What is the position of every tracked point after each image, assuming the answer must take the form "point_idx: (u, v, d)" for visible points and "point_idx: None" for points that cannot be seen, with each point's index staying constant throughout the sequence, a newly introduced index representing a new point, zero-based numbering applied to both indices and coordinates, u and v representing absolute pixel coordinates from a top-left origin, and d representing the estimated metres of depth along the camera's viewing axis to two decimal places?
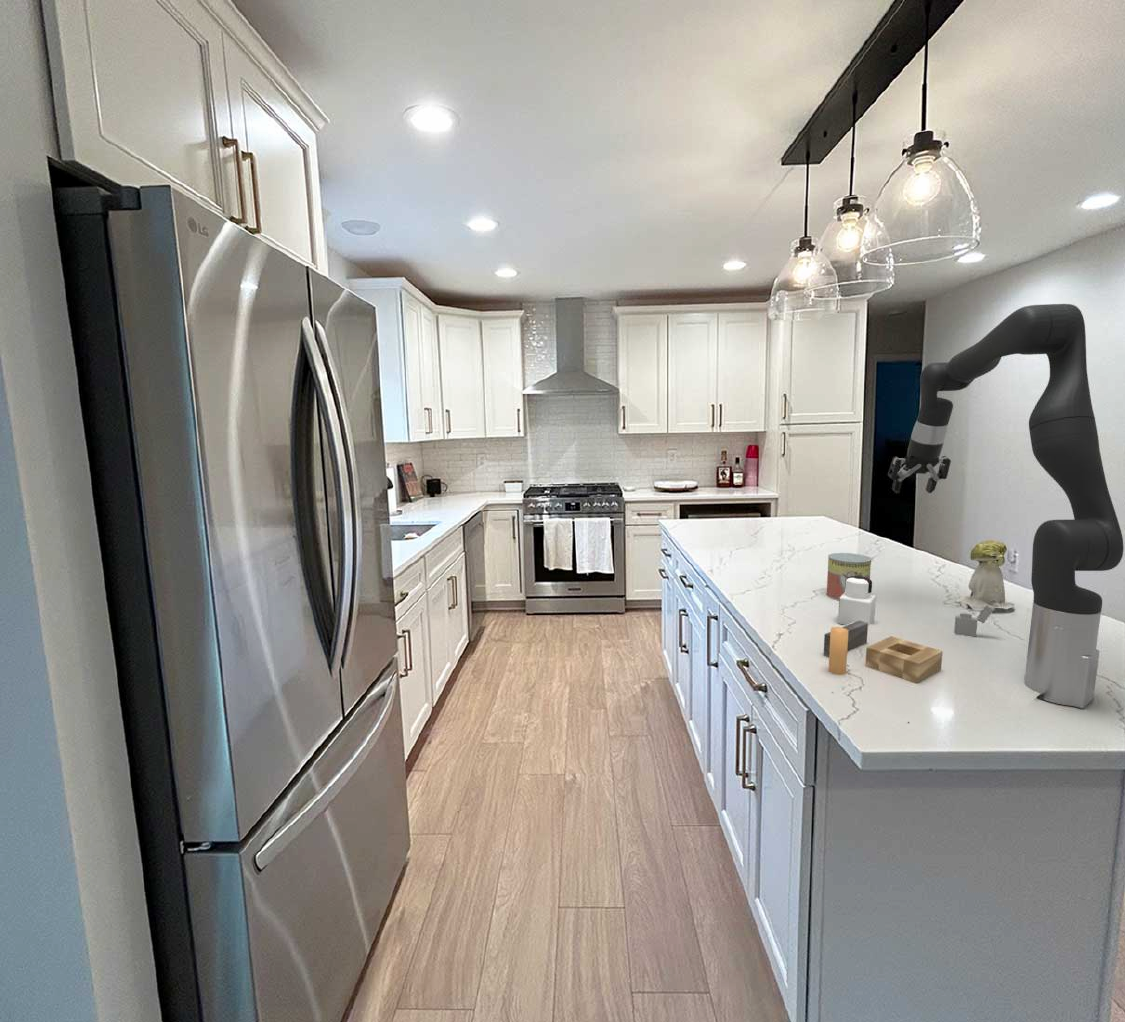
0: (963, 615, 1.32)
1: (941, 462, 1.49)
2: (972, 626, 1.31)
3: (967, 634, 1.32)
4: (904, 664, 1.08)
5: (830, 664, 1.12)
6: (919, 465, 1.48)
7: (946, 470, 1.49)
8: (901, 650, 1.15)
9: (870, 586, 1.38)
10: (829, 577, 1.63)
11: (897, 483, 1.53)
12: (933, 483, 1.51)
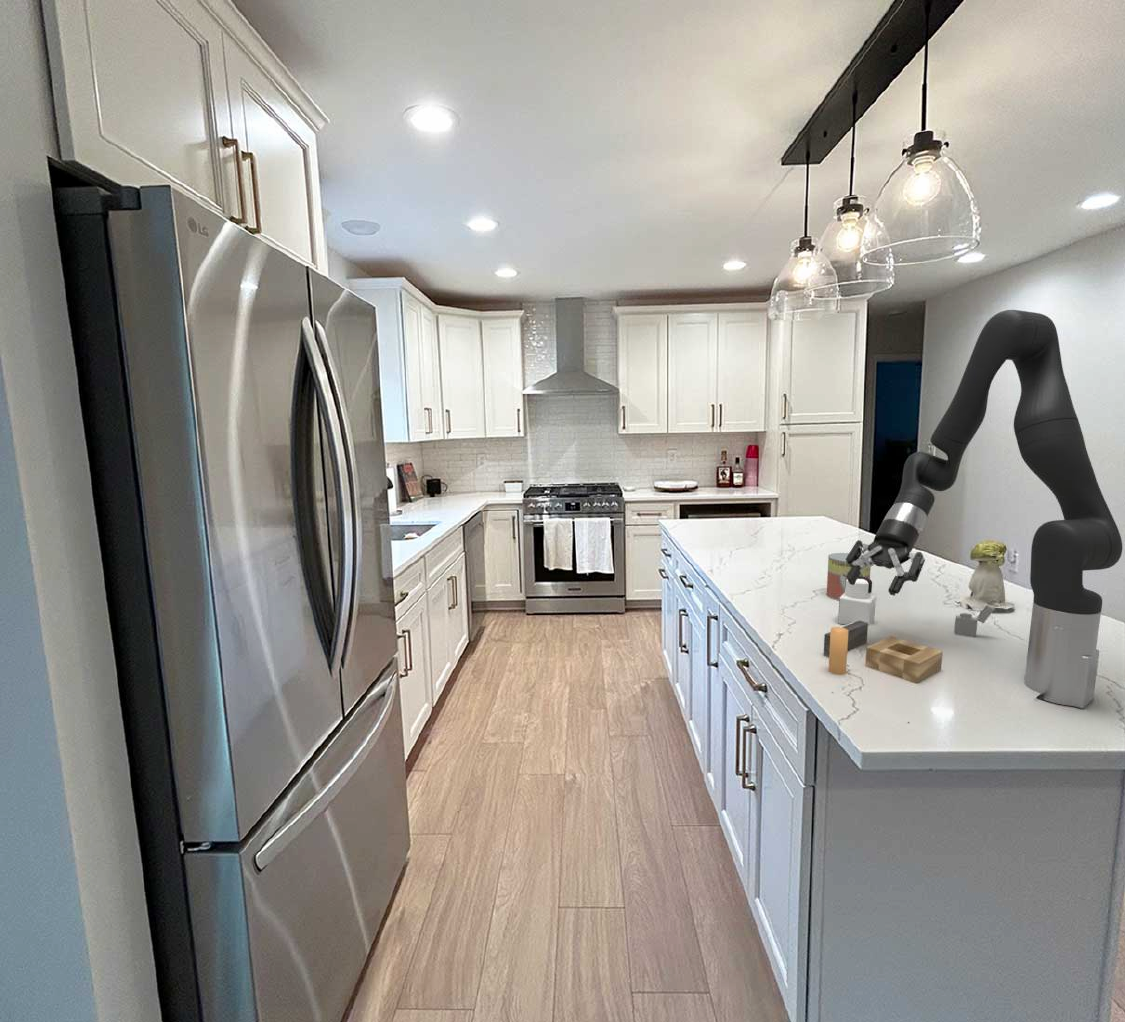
0: (963, 615, 1.32)
1: (912, 557, 1.16)
2: (972, 626, 1.31)
3: (967, 634, 1.32)
4: (904, 664, 1.08)
5: (830, 664, 1.12)
6: (879, 548, 1.20)
7: (915, 564, 1.14)
8: (901, 650, 1.15)
9: (870, 586, 1.38)
10: (829, 577, 1.63)
11: (852, 569, 1.23)
12: (895, 578, 1.15)
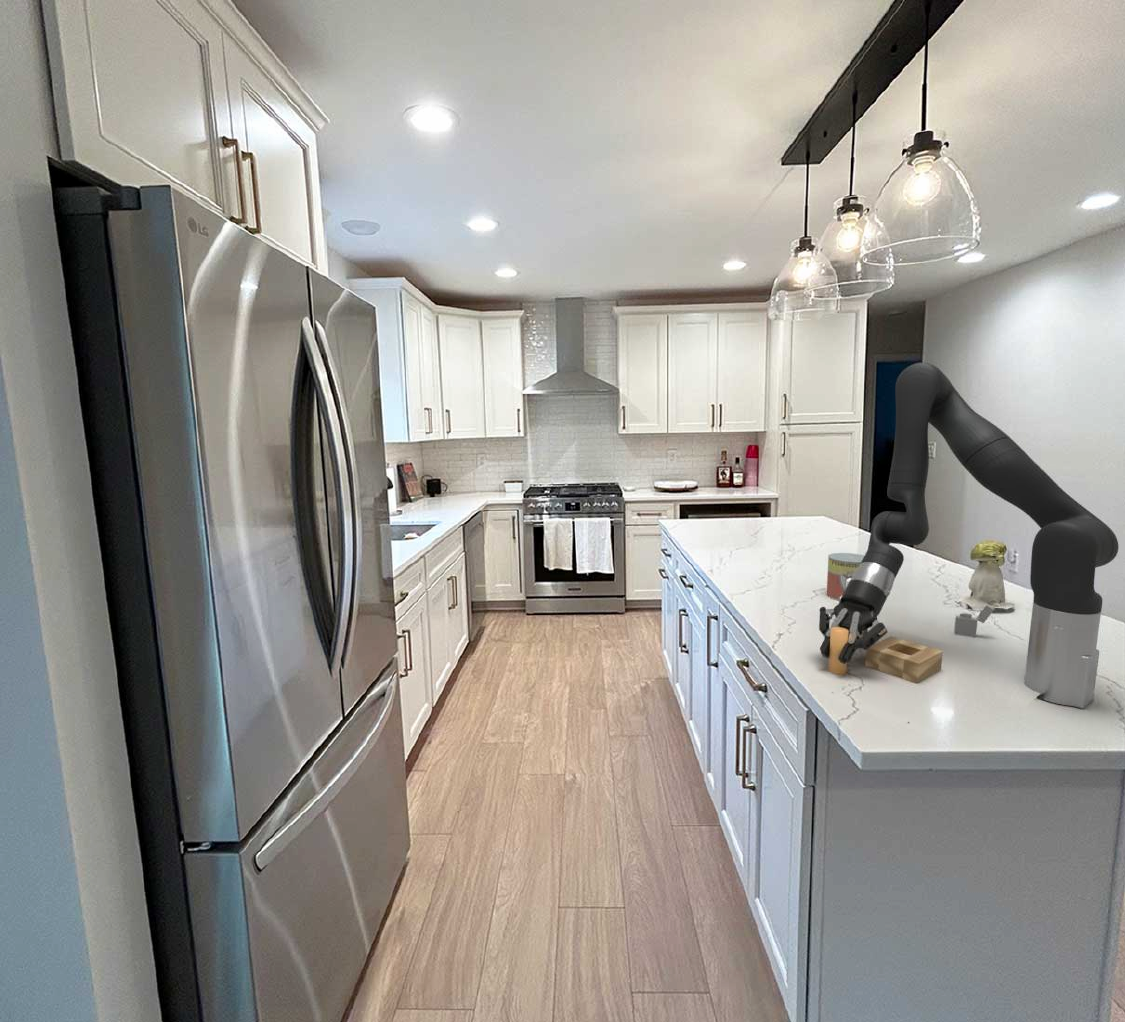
0: (963, 615, 1.32)
1: (874, 625, 1.10)
2: (972, 626, 1.31)
3: (967, 634, 1.32)
4: (904, 664, 1.08)
5: (830, 664, 1.12)
6: (844, 610, 1.14)
7: (870, 634, 1.08)
8: (901, 650, 1.15)
9: None
10: (829, 577, 1.63)
11: (826, 640, 1.14)
12: (846, 645, 1.10)
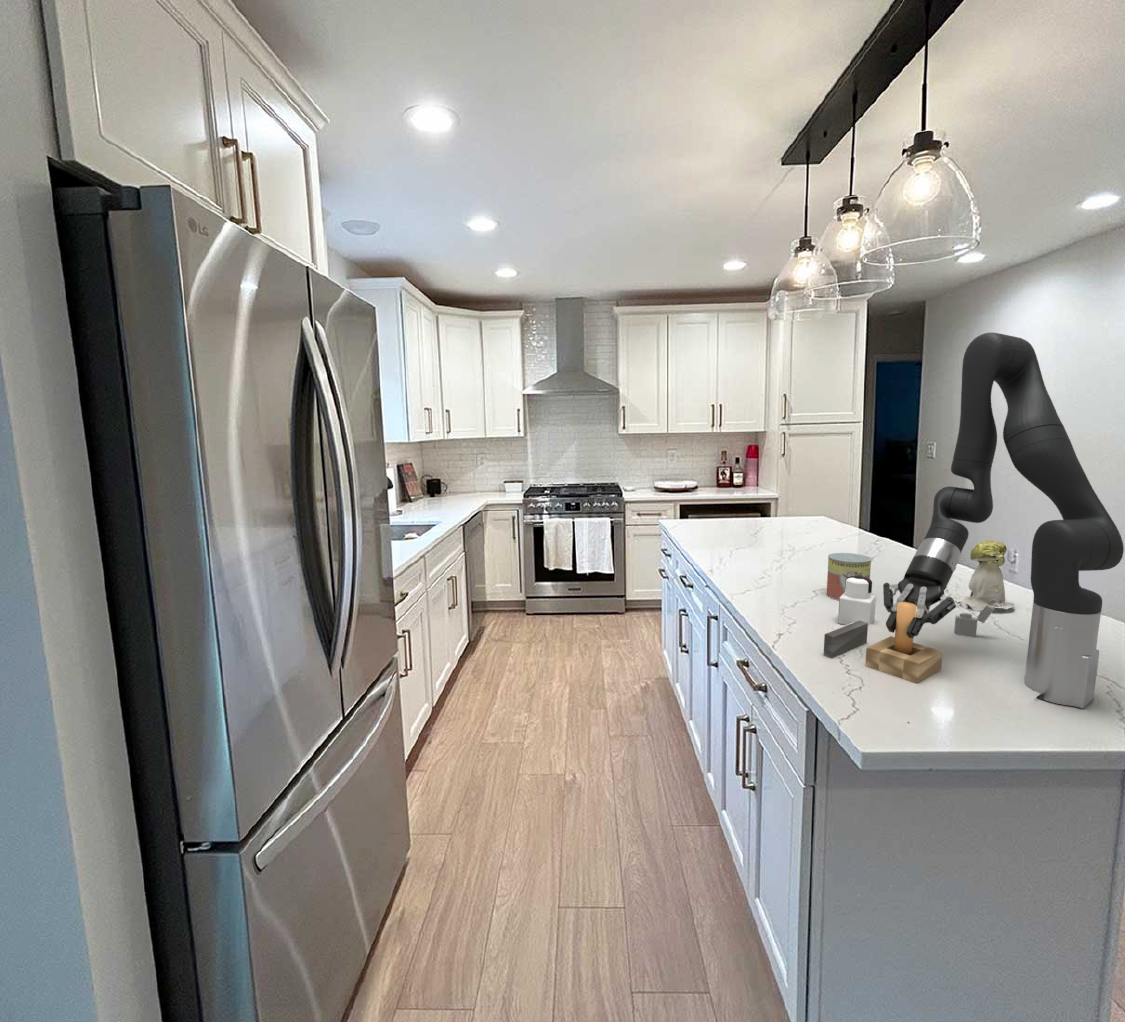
0: (963, 615, 1.32)
1: (942, 599, 1.10)
2: (972, 626, 1.31)
3: (967, 634, 1.32)
4: (904, 664, 1.08)
5: (896, 639, 1.13)
6: (910, 586, 1.14)
7: (939, 608, 1.08)
8: None
9: (870, 586, 1.38)
10: (829, 577, 1.63)
11: (891, 615, 1.14)
12: (914, 620, 1.10)
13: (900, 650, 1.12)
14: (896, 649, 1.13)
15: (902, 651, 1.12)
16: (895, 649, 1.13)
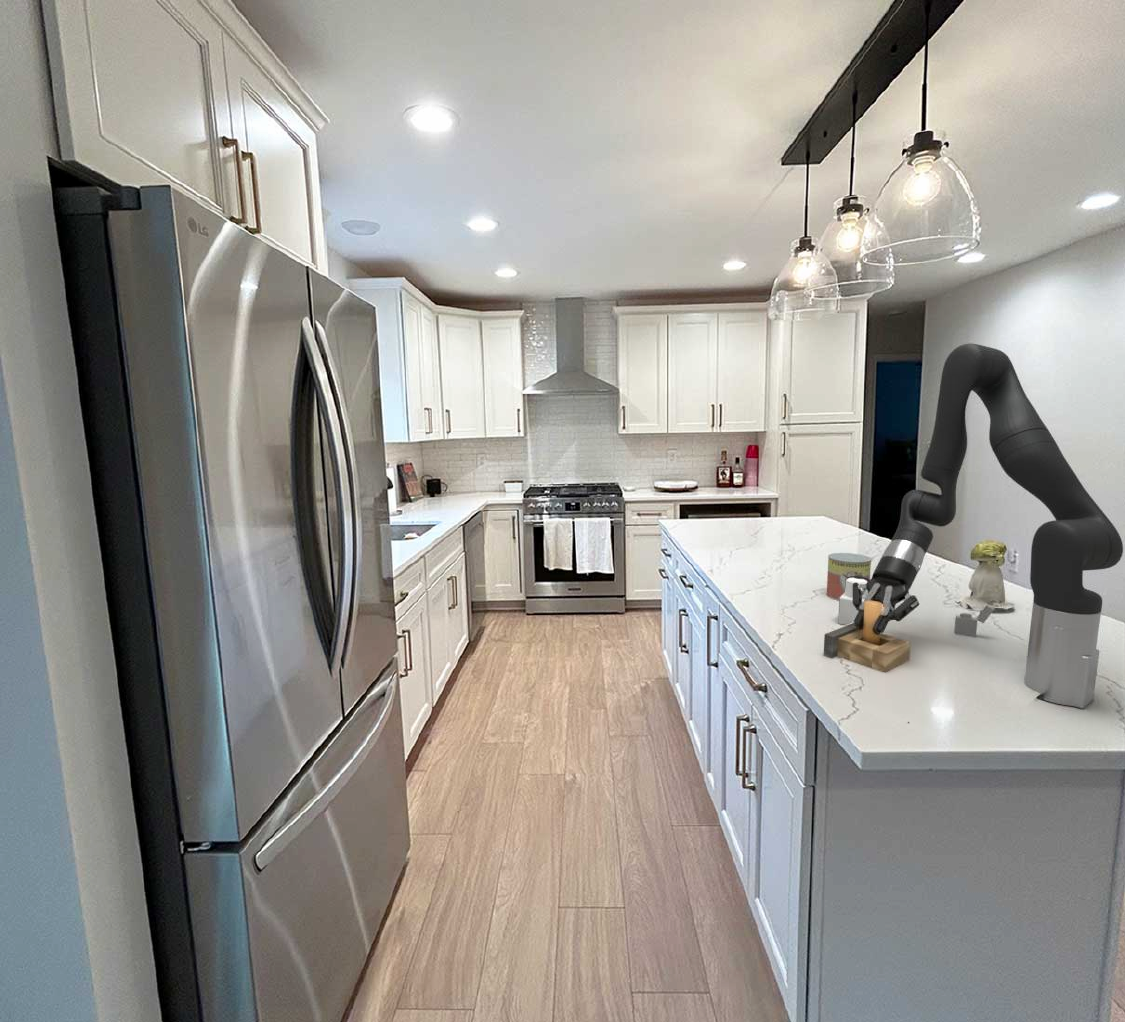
0: (963, 615, 1.32)
1: (906, 598, 1.15)
2: (972, 626, 1.31)
3: (967, 634, 1.32)
4: (873, 654, 1.13)
5: (864, 636, 1.18)
6: (877, 585, 1.20)
7: (903, 606, 1.14)
8: None
9: None
10: (829, 577, 1.63)
11: (859, 613, 1.19)
12: (879, 617, 1.16)
13: None
14: None
15: None
16: None
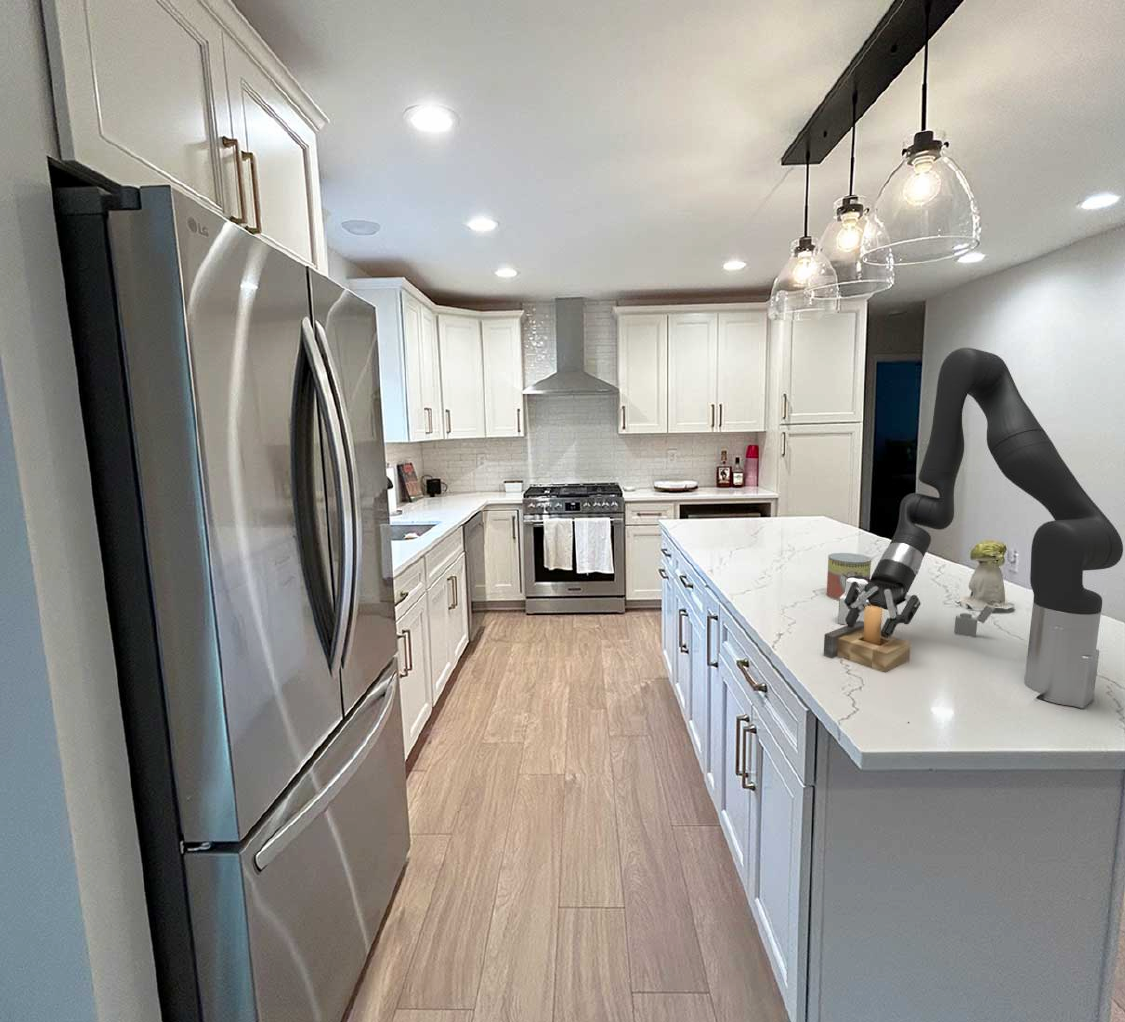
0: (963, 615, 1.32)
1: None
2: (972, 626, 1.31)
3: (967, 634, 1.32)
4: (873, 654, 1.13)
5: None
6: (875, 588, 1.20)
7: (908, 607, 1.14)
8: None
9: None
10: (829, 577, 1.63)
11: (851, 611, 1.21)
12: (888, 620, 1.15)
13: None
14: None
15: None
16: None
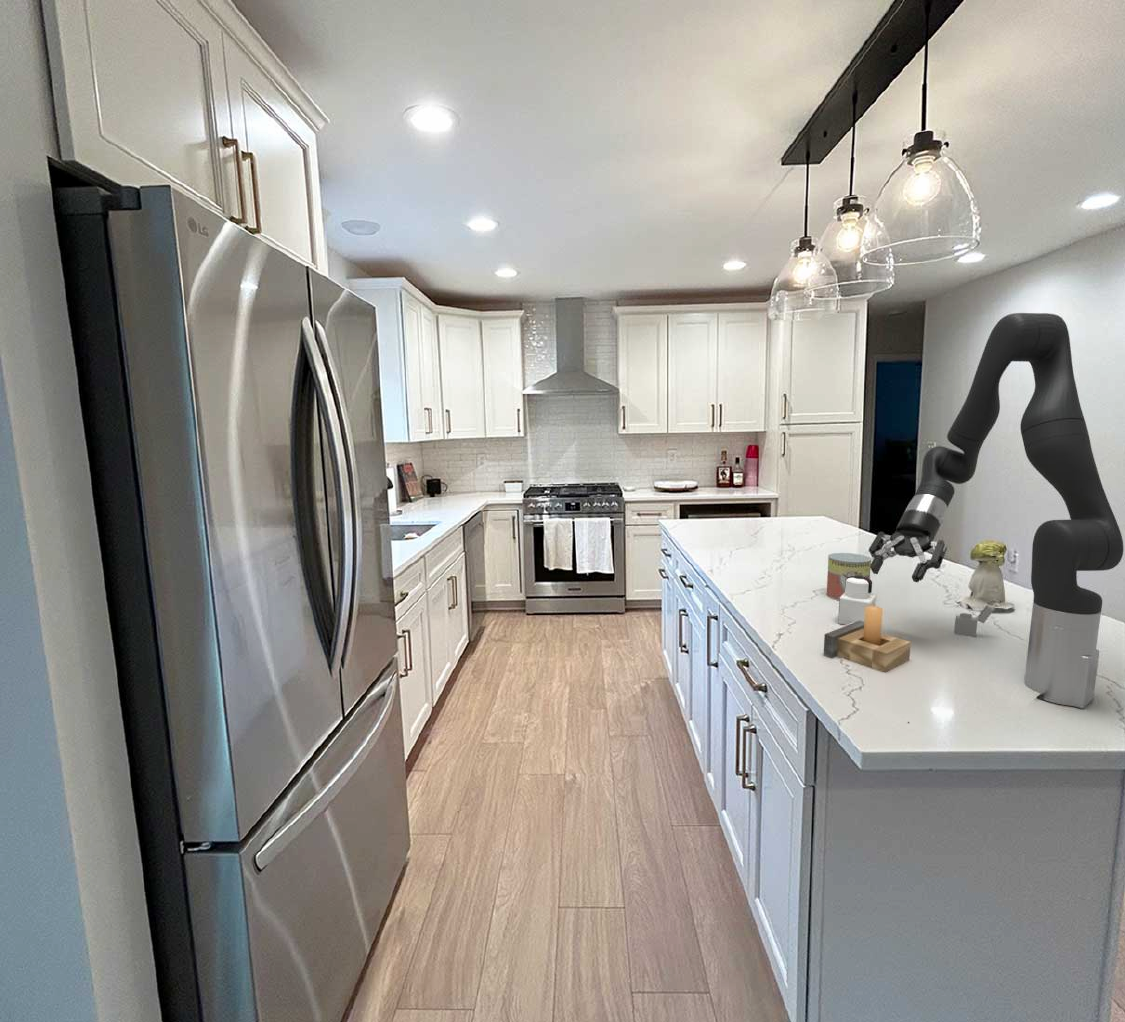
0: (963, 615, 1.32)
1: None
2: (972, 626, 1.31)
3: (967, 634, 1.32)
4: (873, 654, 1.13)
5: (865, 641, 1.18)
6: (901, 537, 1.24)
7: (937, 551, 1.17)
8: None
9: (870, 586, 1.38)
10: (829, 577, 1.63)
11: (875, 559, 1.26)
12: (918, 565, 1.18)
13: None
14: None
15: None
16: None
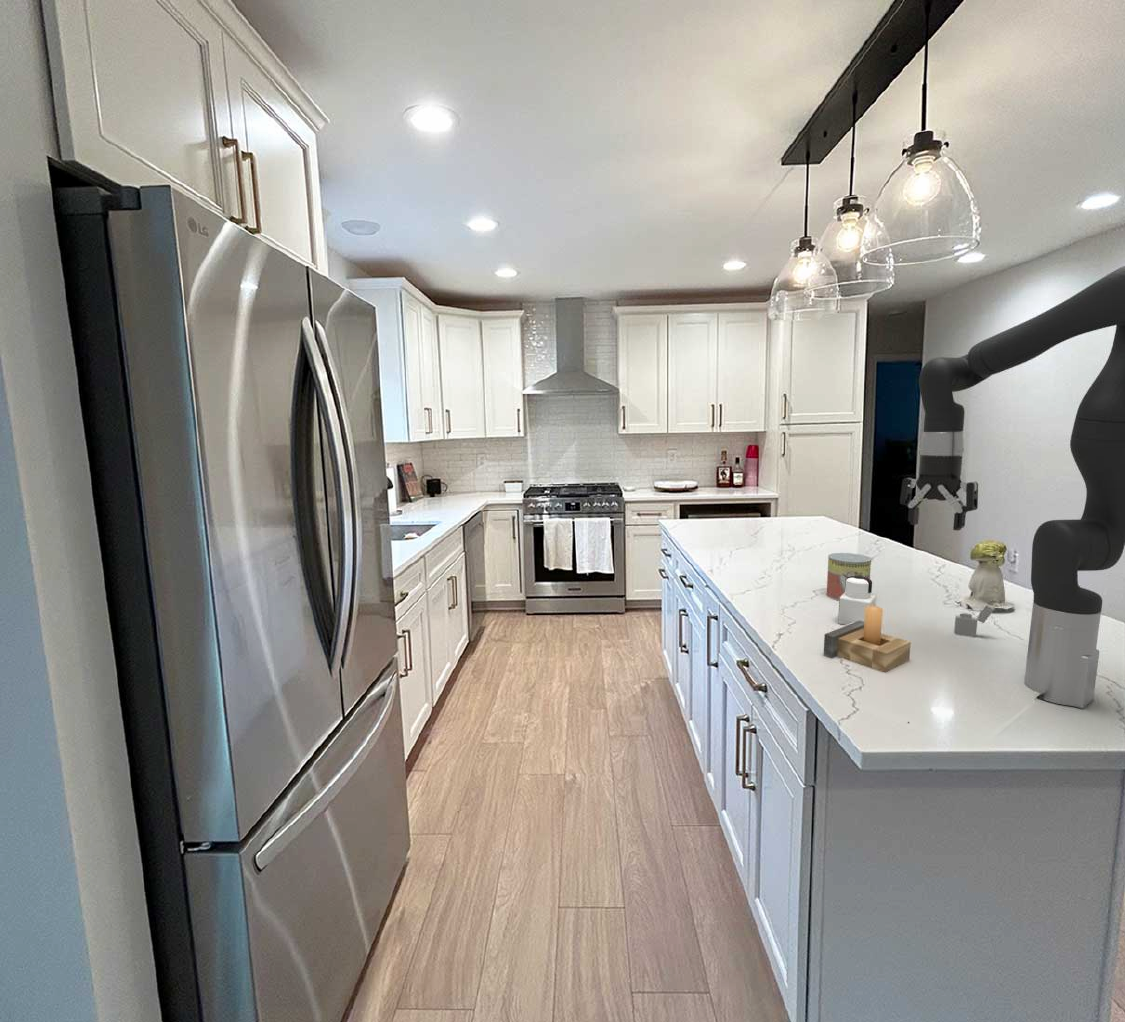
0: (963, 615, 1.32)
1: (964, 487, 1.15)
2: (972, 626, 1.31)
3: (967, 634, 1.32)
4: (873, 654, 1.13)
5: (865, 641, 1.18)
6: (928, 486, 1.20)
7: (970, 497, 1.14)
8: None
9: (870, 586, 1.38)
10: (829, 577, 1.63)
11: (910, 511, 1.24)
12: (956, 515, 1.17)
13: None
14: None
15: None
16: None
